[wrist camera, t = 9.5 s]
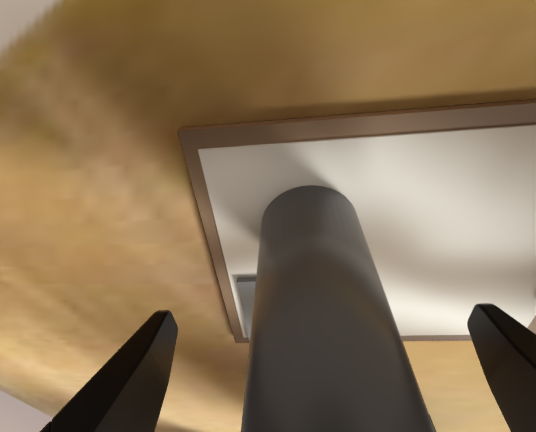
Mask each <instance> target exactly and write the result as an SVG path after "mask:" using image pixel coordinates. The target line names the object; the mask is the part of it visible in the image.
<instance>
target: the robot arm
mask: <svg viewBox="0 0 536 432" xmlns="http://www.w3.org/2000/svg"><path fill="white" fill-rule="evenodd" d="M467 327H468V331H469V333H470V336H471V339H472V342H473V344H474V347H475V350H476V353H477V355H478V358H479V361H480V364H481V366H482V369H483V372H484V375H485V377H486V380H487V382H488V384H489V387H490V389H491V391H492V393H493V395H494V397H495V399H496V402H497V404H498V406H499V408H500V410H501V412H502V414H503V416H504V418H505V420H506V422H507V424H508V426H509V428H510V431H511V432H536V334H535V333H533V332H532V331H531V330H529V329H528V328H526V327H525V326H524V325H522V324H521V323H520V322H518V321H517V320H515V319H514V318H513V317H511V316H510V315H508V314H507V313H506V312H504V311H503V310H502V309H500V308H499V307H497V306H496V305H494V304H491V303H479V304H476V305H475V306H474V308H473V310H472V312H471V314H470V316H469V319H468V321H467ZM177 333H178V328H177V324H176V322H175V320H174V318H173V315H172V313H171V312H170V311H169V310H159V311H156V312H155V313H154V314H153V315H152V316H151V317H150V318H149V319H148V320H147V321H146V322H145V323H144V324H143V325H142V326H141V327H140V328H139V329H138V330H137V331H136V332H135V333H134V335H133V336H132V337H131V338H130V339H129V340H128V341H127V342H126V343H125V344H124V345H123V346H122V347H121V348H120V349H119V350H118V351H117V352H116V353H115V354H114V355H113V356H112V357H111V358H110V359H109V360H108V362H107V363H106V364H105V365H104V366H103V367H102V368H101V369H100V370H99V371H98V372H97V373H96V374H95V375H94V376H93V377H92V378H91V379H90V380H89V381H88V382H87V383H86V384H85V385H84V386H83V387H82V389H81V390H80V391H79V392H78V393H77V394H76V395H75V396H74V397H73V398H72V399H71V400H70V401H69V402H68V403H67V404H66V405H65V406H64V407H63V408H62V409H61V410H60V411H59V412H58V413H57V414H56V416H55V417H54V418H53V419H52V422H49V423H48V424H47V425H46V426H45V427H44V428H43V429H42V430H41V431H40V432H155V428H156V425H157V421H158V418H159V414H160V411H161V407H162V404H163V400H164V397H165V393H166V390H167V386H168V382H169V377H170V372H171V367H172V361H173V355H174V350H175V344H176V339H177Z"/></svg>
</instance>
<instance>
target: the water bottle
mask: <svg viewBox="0 0 536 432" xmlns="http://www.w3.org/2000/svg"><path fill="white" fill-rule="evenodd" d="M241 432H435V431H434V428H433V425H432V422H431V420H430V417H429V414H428V411H427V408H426V406H425V403H424V400H423V397H422V395H421V392H420V389H419V386H418V383H417V381H416V378H415V375H414V372H413V369H412V367H411V364H410V361H409V358H408V356H407V353H406V350H405V347H404V344H403V342H402V339H401V336H400V333H399V330H398V328H397V325H396V322H395V319H394V317H393V314H392V311H391V308H390V305H389V303H388V300H387V297H386V294H385V292H384V289H383V286H382V283H381V280H380V278H379V275H378V272H377V269H376V266H375V264H374V261H373V258H372V255H371V253H370V250H369V247H368V244H367V241H366V239H365V236H364V233H363V230H362V227H361V225H360V222H359V219H358V216H357V214H356V211H355V208H354V207H353V205H352V203H351V202H350V201H349V200H348V199H347V198H346V197H345V196H344V195H342V194H341V193H339V192H337V191H335V190H333V189H330V188H328V187H323V186H316V185H308V186H300V187H296V188H293V189H290V190H287V191H285V192H283V193H282V194H280V195H279V196H277V197H276V198H275V199H274V200H273V201H272V202H271V203H270V204H269V205H268V207H267V208H266V210H265V212H264V214H263V217H262V223H261V233H260V243H259V253H258V263H257V274H256V284H255V294H254V304H253V314H252V325H251V335H250V345H249V355H248V365H247V376H246V386H245V396H244V406H243V416H242V427H241Z"/></svg>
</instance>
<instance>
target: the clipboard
mask: <svg viewBox="0 0 536 432" xmlns="http://www.w3.org/2000/svg"><path fill="white" fill-rule="evenodd" d="M178 135H179V139H180V142H181V146H182V150H183V153H184V157H185V161H186V164H187V168H188V171H189V175H190V179H191V182H192V186H193V190H194V193H195V197H196V201H197V204H198V208H199V212H200V215H201V219H202V222H203V226H204V230H205V233H206V237H207V241H208V244H209V248H210V252H211V255H212V259H213V263H214V266H215V270H216V274H217V277H218V281H219V284H220V288H221V292H222V295H223V299H224V303H225V306H226V310H227V314H228V317H229V321H230V325H231V328H232V332H233V336H234V339H235V343H250V335H251V325H252V314H253V304H254V294H255V284H256V274H257V263H258V253H259V243H260V233H261V223H262V217H263V214H264V212H265V210H266V208H267V207H268V205H269V204H270V203H271V202H272V201H273V200H274V199H275V198H276V197H277V196H279V195H280V194H282V193H283V192H285V191H287V190H290V189H293V188H296V187H300V186H308V185H316V186H323V187H328V188H330V189H333V190H335V191H337V192H339V193H341V194H342V195H344V196H345V197H346V198H347V199H348V200H349V201H350V202H351V203H352V205H353V207H354V208H355V211H356V214H357V216H358V219H359V222H360V225H361V227H362V230H363V233H364V236H365V239H366V241H367V244H368V247H369V250H370V253H371V255H372V258H373V261H374V264H375V266H376V269H377V272H378V275H379V278H380V280H381V283H382V286H383V289H384V292H385V294H386V297H387V300H388V303H389V305H390V308H391V311H392V314H393V317H394V319H395V322H396V325H397V328H398V330H399V333H400V336H401V339H402V341H468V340H472V339H471V336H470V333H469V331H468V327H467V321H468V319H469V316H470V314H471V312H472V310H473V308H474V306H475V305H476V304H479V303H491V304H494V305H496V306H497V307H499V308H500V309H502V310H503V311H504V312H506V313H507V314H508V315H510V316H511V317H513V318H514V319H515V320H517V321H518V322H520V323H521V324H522V325H524V326H525V327H526V328H528V329H529V330H531V331H532V332H533V333H535V334H536V99H531V100H519V101H507V102H494V103H482V104H470V105H457V106H445V107H432V108H420V109H408V110H395V111H383V112H371V113H358V114H346V115H333V116H321V117H309V118H296V119H284V120H272V121H259V122H247V123H234V124H222V125H210V126H197V127H185V128H180V129H179V130H178Z"/></svg>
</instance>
